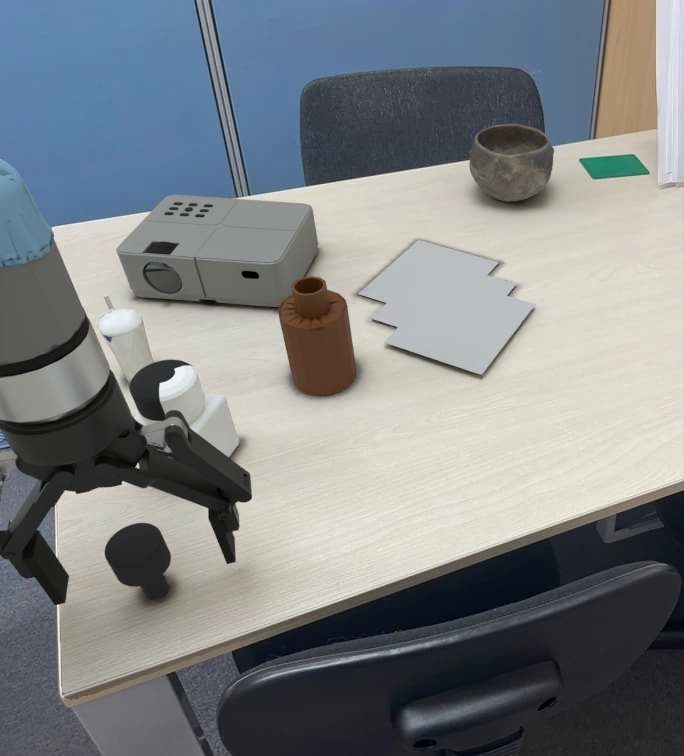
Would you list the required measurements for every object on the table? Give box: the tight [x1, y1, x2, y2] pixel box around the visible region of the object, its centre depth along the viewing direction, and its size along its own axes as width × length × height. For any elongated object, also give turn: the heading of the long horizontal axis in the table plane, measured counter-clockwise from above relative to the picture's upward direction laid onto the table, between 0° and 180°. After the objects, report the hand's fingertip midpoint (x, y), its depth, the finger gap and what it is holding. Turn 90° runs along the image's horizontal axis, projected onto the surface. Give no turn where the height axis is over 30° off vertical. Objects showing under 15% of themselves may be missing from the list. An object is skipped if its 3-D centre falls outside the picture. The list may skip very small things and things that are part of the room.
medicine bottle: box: [128, 358, 240, 466], centre depth 71 cm, size 7×7×12 cm
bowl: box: [468, 123, 555, 203], centre depth 121 cm, size 14×15×10 cm
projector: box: [116, 194, 319, 309], centre depth 100 cm, size 17×22×8 cm
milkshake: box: [97, 294, 155, 384], centre depth 82 cm, size 4×5×10 cm
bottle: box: [277, 275, 357, 397], centre depth 82 cm, size 8×8×13 cm
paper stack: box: [357, 239, 536, 376], centre depth 98 cm, size 23×25×1 cm
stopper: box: [104, 522, 172, 601], centre depth 61 cm, size 4×4×7 cm
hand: (149, 570), depth 62 cm, fingers open, 13 cm apart
